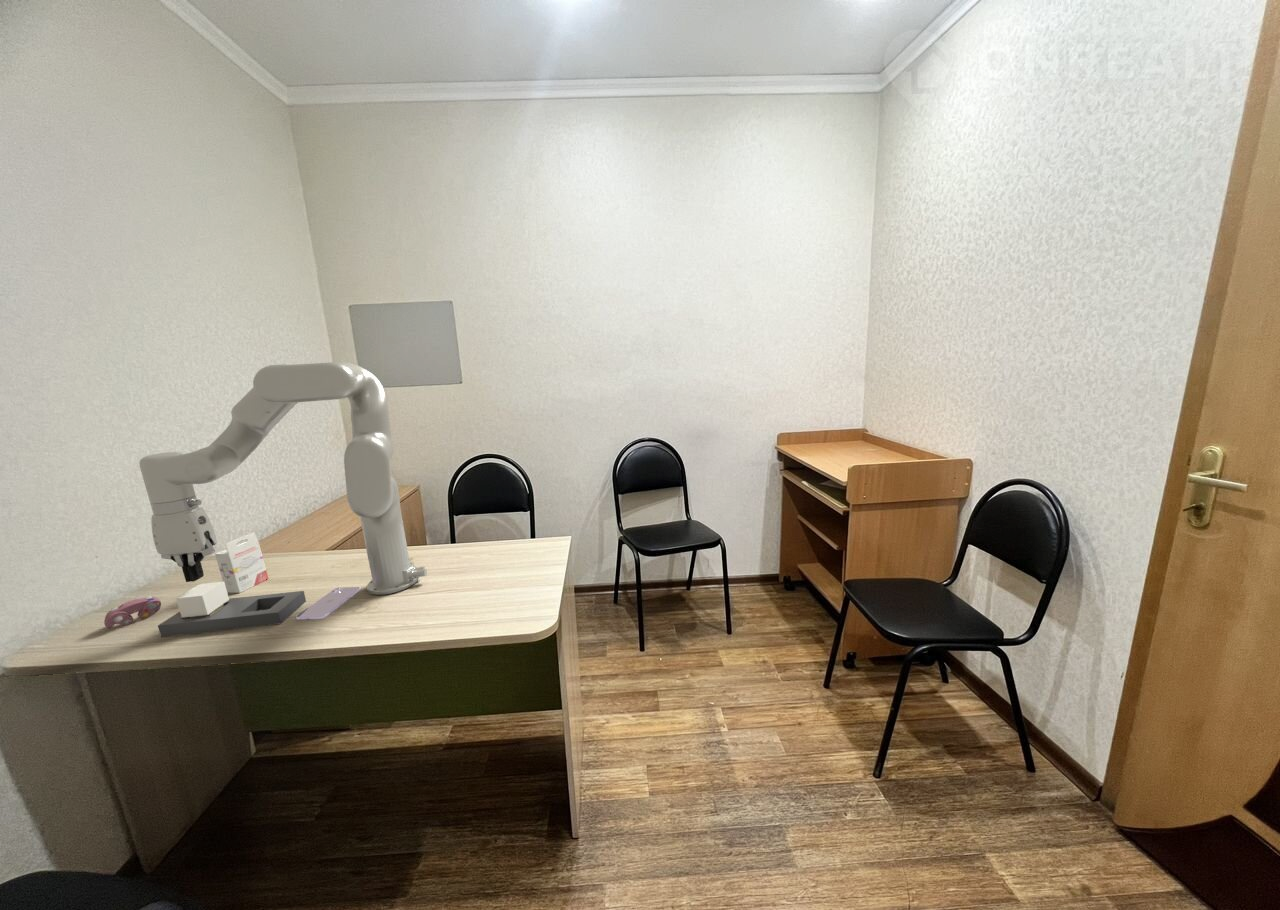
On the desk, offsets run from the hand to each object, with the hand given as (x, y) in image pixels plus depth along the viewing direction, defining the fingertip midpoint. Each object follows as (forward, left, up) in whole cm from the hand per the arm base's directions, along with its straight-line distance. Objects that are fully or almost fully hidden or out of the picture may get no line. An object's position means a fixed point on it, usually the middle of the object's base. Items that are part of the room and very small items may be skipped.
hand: (195, 579), depth 112 cm
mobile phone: (-27, -3, -12) cm, 29 cm away
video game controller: (+20, -5, -12) cm, 24 cm away
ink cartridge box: (+3, -19, -12) cm, 23 cm away
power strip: (-7, 0, -11) cm, 13 cm away
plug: (0, 0, -11) cm, 11 cm away
